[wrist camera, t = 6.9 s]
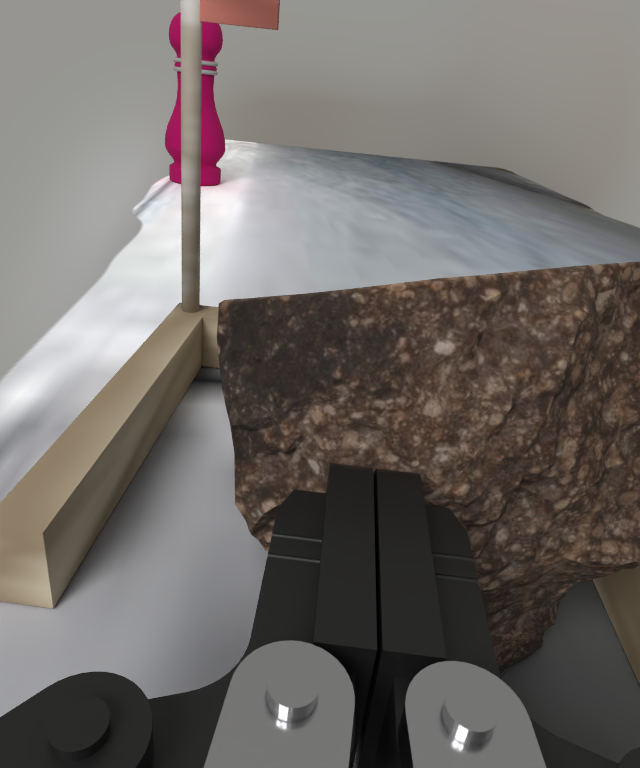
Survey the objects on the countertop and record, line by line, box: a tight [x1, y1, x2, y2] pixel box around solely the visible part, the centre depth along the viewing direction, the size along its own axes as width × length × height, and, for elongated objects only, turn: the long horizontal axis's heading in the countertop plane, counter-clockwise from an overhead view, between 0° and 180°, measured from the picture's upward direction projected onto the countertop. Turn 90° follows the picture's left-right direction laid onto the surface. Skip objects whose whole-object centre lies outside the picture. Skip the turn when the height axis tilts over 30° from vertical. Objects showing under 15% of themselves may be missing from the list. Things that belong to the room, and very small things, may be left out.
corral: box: [0, 0, 640, 685], centre depth 19 cm, size 18×16×16 cm
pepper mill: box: [165, 12, 225, 186], centre depth 71 cm, size 7×7×20 cm
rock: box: [217, 262, 640, 673], centre depth 15 cm, size 12×10×10 cm
